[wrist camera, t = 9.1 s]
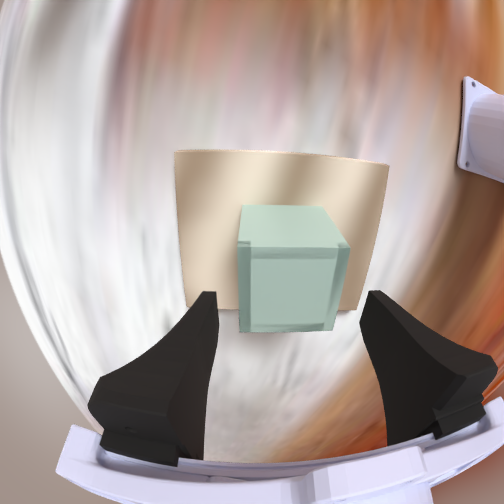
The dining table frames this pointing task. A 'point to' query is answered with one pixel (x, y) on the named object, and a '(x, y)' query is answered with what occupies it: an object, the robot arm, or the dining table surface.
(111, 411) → the robot arm
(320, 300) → the mint green grooved cube
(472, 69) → the dining table surface
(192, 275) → the board
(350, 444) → the dining table surface
